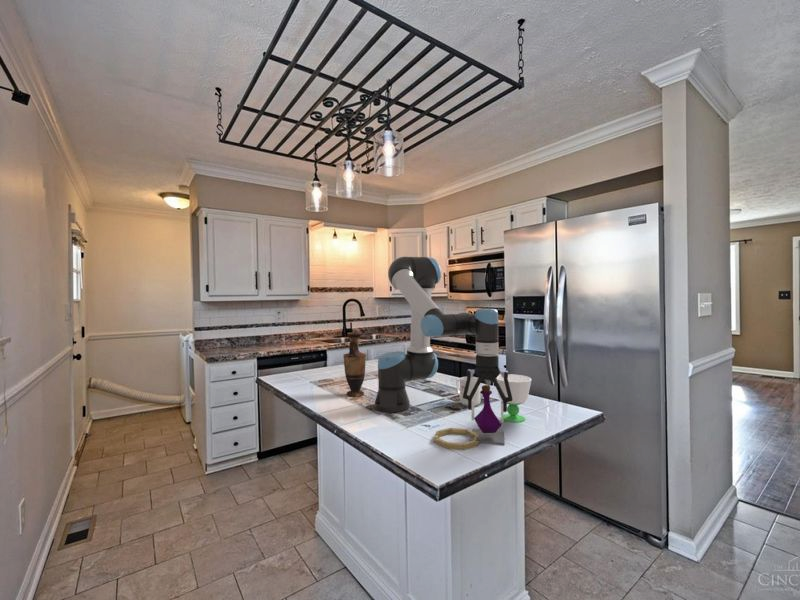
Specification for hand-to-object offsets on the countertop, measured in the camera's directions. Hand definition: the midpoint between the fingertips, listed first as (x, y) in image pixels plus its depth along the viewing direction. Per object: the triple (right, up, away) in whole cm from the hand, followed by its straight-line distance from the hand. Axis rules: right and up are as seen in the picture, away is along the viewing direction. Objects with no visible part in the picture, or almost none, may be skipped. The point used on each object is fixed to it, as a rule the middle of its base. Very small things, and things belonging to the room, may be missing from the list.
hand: (487, 420), depth 134 cm
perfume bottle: (0, -4, 0) cm, 4 cm away
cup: (+14, -5, +19) cm, 24 cm away
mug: (0, -5, +40) cm, 41 cm away
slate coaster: (0, -6, 0) cm, 6 cm away
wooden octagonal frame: (-11, -6, -2) cm, 13 cm away
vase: (-51, -5, +57) cm, 77 cm away
